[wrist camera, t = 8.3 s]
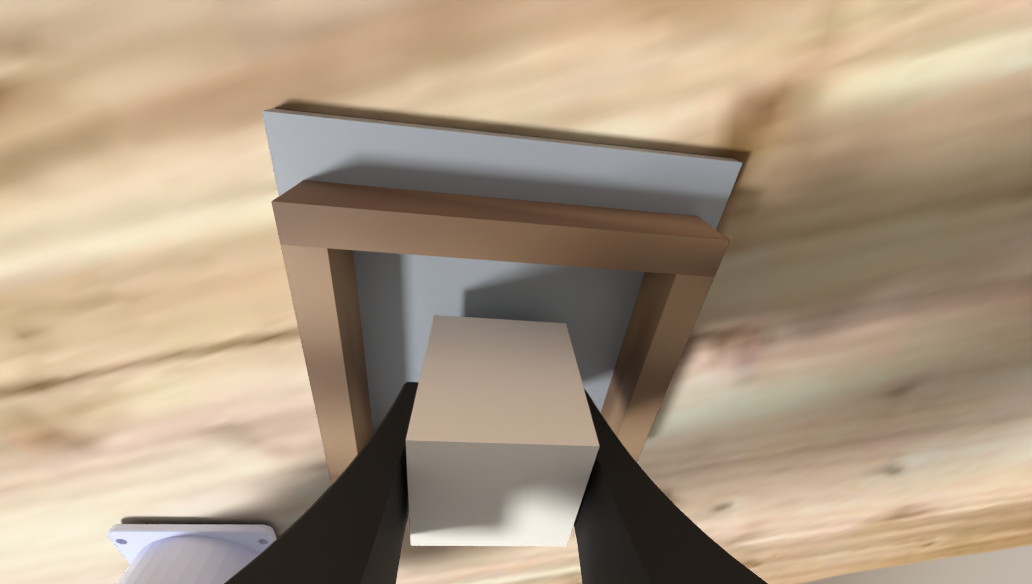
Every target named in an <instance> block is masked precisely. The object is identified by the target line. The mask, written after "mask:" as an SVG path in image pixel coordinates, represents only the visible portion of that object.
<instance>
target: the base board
mask: <svg viewBox="0 0 1032 584" xmlns="http://www.w3.org/2000/svg"><path fill="white" fill-rule="evenodd" d="M262 114H263V119H264V124H265V129H266V134H267V139H268V144H269V149H270V154H271V159H272V164H273V169H274V174H275V179H276V184H277V189H278V194H279V196H280V195H282V194H283V193H285V192H286V191H288V190H289V189H291V188H292V187H294V186H295V185H297V184H298V183H300V182H301V181H303V180H309V181H320V182H331V183H342V184H352V185H363V186H374V187H385V188H396V189H407V190H418V191H429V192H440V193H451V194H462V195H473V196H484V197H495V198H506V199H517V200H528V201H539V202H550V203H561V204H572V205H583V206H594V207H605V208H615V209H626V210H637V211H648V212H659V213H670V214H681V215H692V216H699V217H700V218H701V219H703V220H704V221H705V222H706V223H708V224H709V225H710V226H712V227H713V228H714V229H715V230H716V229H717V226H718V224H719V221H720V219H721V216H722V214H723V211H724V209H725V206H726V204H727V201H728V199H729V196H730V193H731V191H732V188H733V186H734V183H735V181H736V178H737V176H738V173H739V171H740V168H741V166H742V162H740V161H738V160H735V159H733V158H725V157H716V156H706V155H697V154H688V153H679V152H669V151H660V150H651V149H642V148H633V147H623V146H614V145H605V144H596V143H586V142H577V141H568V140H559V139H550V138H540V137H531V136H522V135H513V134H503V133H494V132H485V131H476V130H467V129H457V128H448V127H439V126H430V125H420V124H411V123H402V122H393V121H384V120H374V119H365V118H356V117H347V116H337V115H328V114H319V113H310V112H301V111H291V110H282V109H273V108H272V109H268V110H264V111H262ZM353 255H354V264H355V273H356V282H357V291H358V300H359V309H360V318H361V327H362V336H363V345H364V354H365V363H366V372H367V381H368V390H369V399H370V408H371V417H372V426H373V433H374V432H375V430H376V429H377V427H378V426H379V425H380V423H381V422H382V420H383V419H384V417H385V416H386V414H387V413H388V411H389V409H390V408H391V406H392V405H393V403H394V401H395V400H396V398H397V396H398V394H399V393H400V391H401V389H402V387H403V385H404V384H405V383H406V382H419V379H420V375H421V370H422V366H423V362H424V357H425V353H426V348H427V344H428V340H429V335H430V331H431V326H432V322H433V318H434V315H441V316H457V317H473V318H489V319H505V320H521V321H537V322H553V323H566V325H567V329H568V333H569V336H570V340H571V343H572V347H573V351H574V354H575V358H576V362H577V365H578V369H579V373H580V376H581V380H582V384H583V387H584V389H585V390H586V391H587V392H588V394H589V396H590V397H591V399H592V400H593V402H594V403H595V405H596V407H597V408H598V410H599V411H600V413H601V410H602V407H603V403H604V400H605V397H606V394H607V391H608V387H609V384H610V381H611V378H612V375H613V372H614V368H615V365H616V362H617V359H618V356H619V352H620V349H621V346H622V343H623V340H624V337H625V333H626V330H627V327H628V324H629V321H630V317H631V314H632V311H633V308H634V305H635V301H636V298H637V295H638V292H639V289H640V286H641V282H642V279H643V276H644V273H645V272H639V271H625V270H612V269H599V268H585V267H572V266H558V265H545V264H532V263H518V262H505V261H491V260H478V259H464V258H451V257H438V256H424V255H411V254H397V253H384V252H370V251H357V250H353Z"/></svg>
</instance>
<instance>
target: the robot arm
mask: <svg viewBox="0 0 1032 584" xmlns="http://www.w3.org/2000/svg"><path fill="white" fill-rule="evenodd" d="M418 383H419V382H406V383H405V384H404V385H403V387H402V389H401V391H400V393H399V394H398V396H397V398H396V400H395V401H394V403H393V405H392V406H391V408H390V409H389V411H388V413H387V414H386V416H385V417H384V419H383V420H382V422H381V423H380V425H379V426H378V427H377V429H376V430H375V432H374V433H373V435H372V436H371V437H370V439H369V440H368V441H367V443H366V444H365V445H364V447H363V448H362V449H361V451H360V452H359V453H358V454H357V456H356V457H355V458H354V460H353V461H352V462H351V463H350V464H349V466H348V467H347V468H346V469H345V470H344V472H343V473H342V474H341V475H340V476H339V477H338V478H337V480H336V481H335V482H334V483H333V484H332V485H331V486H330V487H329V488H328V490H327V491H326V492H325V493H324V494H323V495H322V496H321V497H320V498H319V499H318V500H317V501H316V502H315V503H314V504H313V505H312V506H311V507H310V508H309V509H308V510H307V511H306V512H305V513H304V514H303V515H302V516H301V517H300V518H299V519H298V520H297V521H296V522H295V523H294V524H293V525H292V526H290V527H289V528H288V529H287V530H286V531H285V532H284V533H283V534H282V535H281V536H279V537H278V538H276V535H275V533H274V530H273V528H272V527H270V526H268V525H254V524H116V525H114V526H112V528H111V529H110V530H109V531H108V533H107V535H108V537H109V538H110V540H111V541H112V542H113V543H114V545H115V546H116V547H117V549H118V550H119V551H120V552H121V554H122V555H123V556H124V558H125V559H126V560H127V561H128V563H129V564H130V565H129V567H128V568H127V570H126V571H125V572H124V574H123V575H122V577H121V578H120V579H119V581H118V582H117V584H396V578H397V571H398V565H399V559H400V552H401V546H402V541H403V536H404V531H405V526H406V522H407V518H408V514H409V501H408V480H407V460H406V436H407V432H408V427H409V423H410V419H411V414H412V410H413V405H414V401H415V397H416V392H417V388H418ZM584 391H585V395H586V398H587V402H588V406H589V409H590V413H591V417H592V420H593V424H594V428H595V431H596V435H597V439H598V442H599V446H600V447H599V450H598V453H597V456H596V459H595V462H594V465H593V468H592V471H591V474H590V477H589V480H588V483H587V486H586V489H585V492H584V495H583V498H582V501H581V504H580V507H579V510H578V513H577V516H576V519H575V522H574V527H575V532H576V538H577V543H578V551H579V559H580V567H581V575H582V583H583V584H767V583H766V582H765V581H763V580H762V579H761V578H760V577H758V576H757V575H756V574H754V573H753V572H752V571H750V570H749V569H748V568H747V567H745V566H744V565H743V564H741V563H740V562H739V561H737V560H736V559H735V558H733V557H732V556H731V555H730V554H729V553H727V552H726V551H725V550H724V549H723V548H721V547H720V546H719V545H718V544H717V543H715V542H714V541H713V540H712V539H711V538H710V537H708V536H707V535H706V534H705V533H704V532H703V531H702V530H701V529H700V528H699V527H697V526H696V525H695V524H694V523H693V522H692V521H691V520H690V519H689V518H688V517H687V516H686V515H685V514H684V513H683V512H681V511H680V510H679V509H678V508H677V507H676V506H675V505H674V504H673V503H672V502H671V501H670V500H669V499H668V498H667V496H666V495H665V494H664V493H663V492H662V491H661V490H660V489H659V488H658V487H657V486H656V485H655V483H654V482H653V481H652V480H651V479H650V478H649V477H648V476H647V474H646V473H645V472H644V471H643V470H642V468H641V467H640V466H639V465H638V463H637V462H636V461H635V460H634V458H633V457H632V456H631V455H630V453H629V452H628V451H627V449H626V448H625V447H624V446H623V444H622V443H621V441H620V440H619V439H618V437H617V436H616V434H615V433H614V432H613V430H612V429H611V427H610V426H609V425H608V423H607V422H606V420H605V419H604V417H603V416H602V414H601V413H600V411H599V410H598V408H597V407H596V405H595V403H594V402H593V400H592V399H591V397H590V396H589V394H588V392H587V391H586V390H585V389H584Z"/></svg>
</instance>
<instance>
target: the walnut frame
mask: <svg viewBox="0 0 1032 584" xmlns="http://www.w3.org/2000/svg"><path fill="white" fill-rule="evenodd" d="M272 206H273V211H274V216H275V220H276V225H277V230H278V234H279V239H280V244H281V249H282V253H283V258H284V263H285V267H286V272H287V277H288V282H289V286H290V291H291V296H292V300H293V305H294V310H295V315H296V319H297V324H298V329H299V333H300V338H301V343H302V348H303V352H304V357H305V362H306V366H307V371H308V376H309V381H310V385H311V390H312V395H313V399H314V404H315V409H316V414H317V418H318V423H319V428H320V432H321V437H322V442H323V447H324V451H325V456H326V461H327V465H328V470H329V475H330V479H331V484H333V483H334V482H335V481H336V480H337V478H338V477H339V476H340V475H341V474H342V473H343V472H344V470H345V469H346V468H347V467H348V466H349V464H350V463H351V462H352V461H353V460H354V458H355V457H356V456H357V454H358V453H359V452H360V451H361V449H362V448H363V447H364V445H365V444H366V443H367V441H368V440H369V439H370V437H371V436H372V435H373V426H372V417H371V408H370V399H369V390H368V381H367V372H366V363H365V354H364V345H363V336H362V327H361V318H360V309H359V300H358V291H357V282H356V273H355V264H354V255H353V250H357V251H370V252H384V253H397V254H411V255H424V256H438V257H451V258H464V259H478V260H491V261H505V262H518V263H532V264H545V265H558V266H572V267H585V268H599V269H612V270H625V271H639V272H645V273H644V276H643V279H642V282H641V286H640V289H639V292H638V295H637V298H636V301H635V305H634V308H633V311H632V314H631V317H630V321H629V324H628V327H627V330H626V333H625V337H624V340H623V343H622V346H621V349H620V352H619V356H618V359H617V362H616V365H615V368H614V372H613V375H612V378H611V381H610V384H609V387H608V391H607V394H606V397H605V400H604V403H603V407H602V410H601V414H602V416H603V417H604V419H605V420H606V422H607V423H608V425H609V426H610V427H611V429H612V430H613V432H614V433H615V434H616V436H617V437H618V439H619V440H620V441H621V443H622V444H623V446H624V447H625V448H626V449H627V451H628V452H629V453H630V455H631V456H632V457H633V458H634V460H635V461H636V462H637V460H638V458H639V455H640V453H641V451H642V448H643V446H644V443H645V441H646V439H647V436H648V434H649V432H650V429H651V427H652V424H653V422H654V420H655V417H656V415H657V412H658V410H659V408H660V405H661V403H662V401H663V398H664V396H665V393H666V391H667V389H668V386H669V384H670V381H671V379H672V377H673V374H674V372H675V370H676V367H677V365H678V362H679V360H680V358H681V355H682V353H683V350H684V348H685V346H686V343H687V341H688V339H689V336H690V334H691V331H692V329H693V327H694V324H695V322H696V319H697V317H698V315H699V312H700V310H701V308H702V305H703V303H704V300H705V298H706V296H707V293H708V291H709V288H710V286H711V284H712V281H713V279H714V276H715V274H716V272H717V269H718V267H719V265H720V262H721V260H722V257H723V255H724V253H725V250H726V248H727V245H728V243H729V241H730V240H728V239H727V238H726V237H724V236H723V235H722V234H721V233H719V232H718V231H717V230H715V229H714V228H713V227H712V226H710V225H709V224H708V223H706V222H705V221H704V220H703V219H701V218H700V217H699V216H692V215H681V214H670V213H659V212H648V211H637V210H626V209H615V208H605V207H594V206H583V205H572V204H561V203H550V202H539V201H528V200H517V199H506V198H495V197H484V196H473V195H462V194H451V193H440V192H429V191H418V190H407V189H396V188H385V187H374V186H363V185H352V184H342V183H331V182H320V181H309V180H303V181H301V182H300V183H298V184H297V185H295V186H294V187H292V188H291V189H289V190H288V191H286V192H285V193H283V194H282V195H280V196H279V197H277V198H276V199H274V200H273V201H272Z"/></svg>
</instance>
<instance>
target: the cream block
mask: <svg viewBox="0 0 1032 584" xmlns="http://www.w3.org/2000/svg"><path fill="white" fill-rule="evenodd" d="M599 447H600V446H599V442H598V439H597V435H596V431H595V428H594V424H593V420H592V417H591V413H590V409H589V406H588V402H587V398H586V395H585V391H584V387H583V384H582V380H581V376H580V373H579V369H578V365H577V362H576V358H575V354H574V351H573V347H572V343H571V340H570V336H569V333H568V329H567V325H566V323H553V322H537V321H521V320H505V319H489V318H473V317H457V316H441V315H434V318H433V322H432V326H431V331H430V335H429V340H428V344H427V348H426V353H425V357H424V362H423V366H422V370H421V375H420V379H419V383H418V388H417V392H416V397H415V401H414V405H413V410H412V414H411V419H410V423H409V427H408V432H407V436H406V460H407V480H408V501H409V521H410V542H411V546H567V543H568V540H569V537H570V534H571V531H572V528H573V525H574V522H575V519H576V516H577V513H578V510H579V507H580V504H581V501H582V498H583V495H584V492H585V489H586V486H587V483H588V480H589V477H590V474H591V471H592V468H593V465H594V462H595V459H596V456H597V453H598V450H599Z"/></svg>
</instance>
